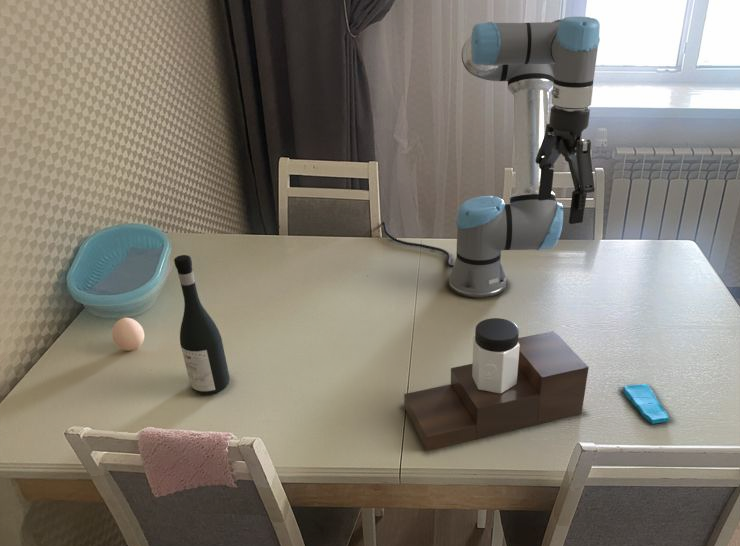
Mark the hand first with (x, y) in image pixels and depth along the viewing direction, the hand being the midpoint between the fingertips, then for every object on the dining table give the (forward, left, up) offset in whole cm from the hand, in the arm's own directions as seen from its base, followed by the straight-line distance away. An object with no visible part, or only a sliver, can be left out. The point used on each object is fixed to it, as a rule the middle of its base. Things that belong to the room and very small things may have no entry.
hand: (559, 210), depth 143 cm
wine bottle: (-7, -76, -32) cm, 83 cm away
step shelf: (+21, -23, -32) cm, 44 cm away
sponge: (+30, +7, -32) cm, 44 cm away
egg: (-28, -92, -32) cm, 101 cm away
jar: (+21, -23, -24) cm, 40 cm away
